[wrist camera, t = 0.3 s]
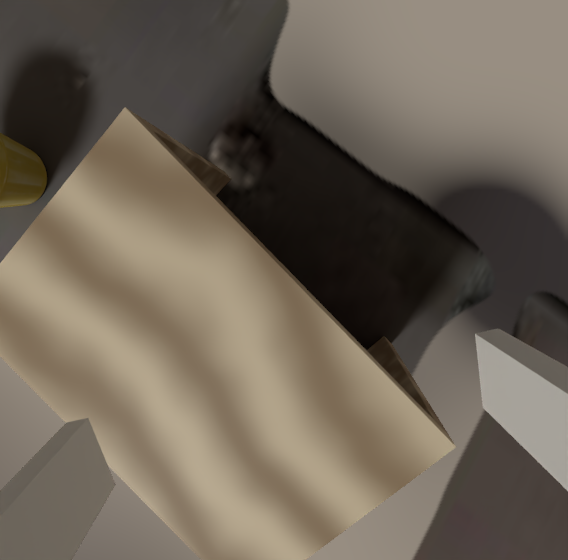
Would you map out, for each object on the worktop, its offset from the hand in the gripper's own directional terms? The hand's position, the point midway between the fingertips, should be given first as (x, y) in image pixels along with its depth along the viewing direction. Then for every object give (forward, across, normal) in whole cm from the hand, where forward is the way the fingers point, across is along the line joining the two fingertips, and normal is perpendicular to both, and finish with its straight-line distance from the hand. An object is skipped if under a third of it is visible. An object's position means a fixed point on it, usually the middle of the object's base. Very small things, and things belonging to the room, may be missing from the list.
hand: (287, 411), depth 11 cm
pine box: (+26, -4, -4) cm, 27 cm away
